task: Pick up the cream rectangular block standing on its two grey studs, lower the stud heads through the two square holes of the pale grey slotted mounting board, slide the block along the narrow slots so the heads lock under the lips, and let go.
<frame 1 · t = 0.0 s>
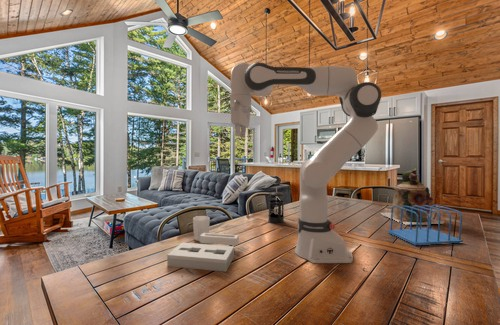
hand: (240, 136, 103), 48 cm above the table, tool pointing down, fingers open, 8 cm apart
cookie jar: (410, 220, 151), on the table
french press: (275, 221, 146), on the table
cream rectangular block: (219, 248, 104), on the table
white cup: (201, 239, 116), on the table
mounting board: (202, 261, 92), on the table
file sorter: (423, 239, 119), on the table
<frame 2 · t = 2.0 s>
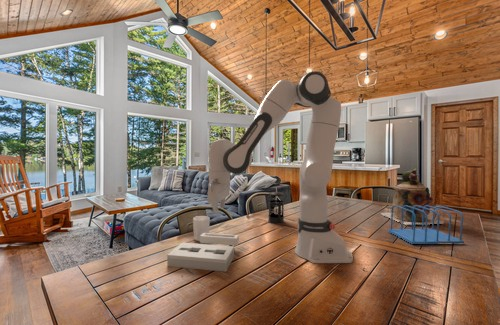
hand: (218, 210, 103), 17 cm above the table, tool pointing down, fingers open, 8 cm apart
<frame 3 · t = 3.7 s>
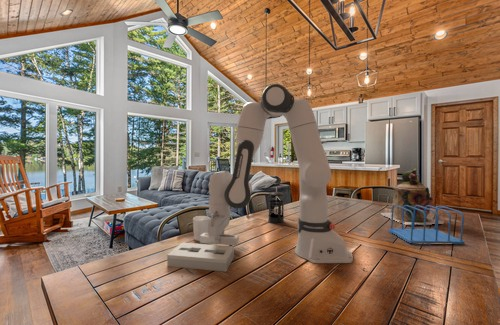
hand: (219, 240, 104), 3 cm above the table, tool pointing down, fingers closed on cream rectangular block, 4 cm apart
cream rectangular block: (219, 248, 104), on the table, touching gripper
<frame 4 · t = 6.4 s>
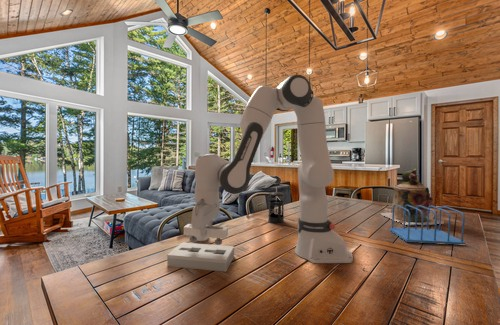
hand: (206, 233, 91), 11 cm above the table, tool pointing down, fingers closed on cream rectangular block, 4 cm apart
cream rectangular block: (205, 242, 92), point 8 cm above the table, touching gripper
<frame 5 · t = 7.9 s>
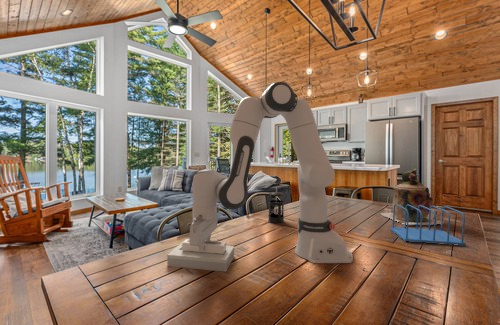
hand: (204, 248, 92), 5 cm above the table, tool pointing down, fingers closed on cream rectangular block, 4 cm apart
cream rectangular block: (204, 257, 92), point 2 cm above the table, touching gripper
when the fingers open (5 cm above the table, at t = 9.0 s): cream rectangular block stays where it is, resting on mounting board.
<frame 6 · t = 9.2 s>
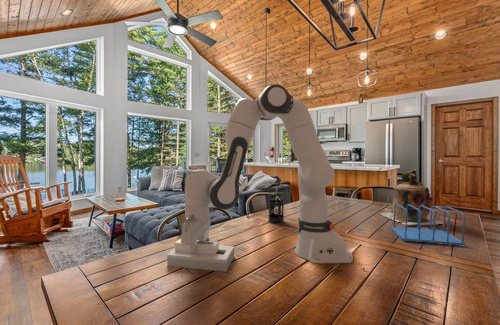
hand: (197, 248, 92), 5 cm above the table, tool pointing down, fingers open, 5 cm apart
cream rectangular block: (197, 257, 93), point 1 cm above the table, touching mounting board
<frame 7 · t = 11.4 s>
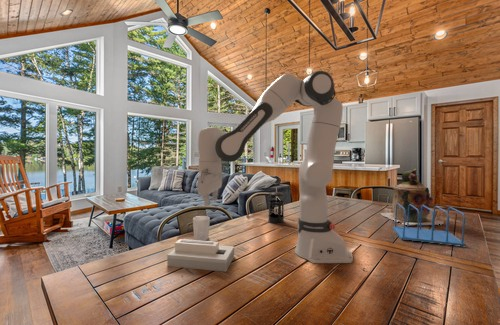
hand: (211, 202, 97), 21 cm above the table, tool pointing down, fingers open, 8 cm apart
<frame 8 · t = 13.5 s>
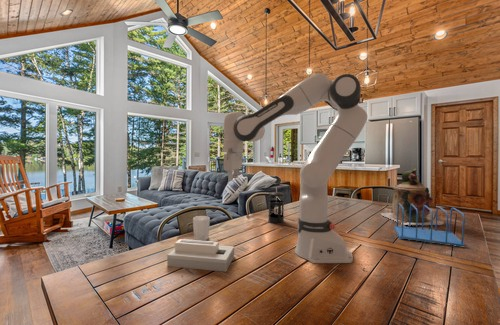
hand: (233, 179, 110), 29 cm above the table, tool pointing down, fingers open, 8 cm apart
at the end: cream rectangular block 0.1 cm from the target spot on the mounting board, point 1.4 cm above the mounting board's base; cream rectangular block tilted 0°; the gripper is holding nothing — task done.
